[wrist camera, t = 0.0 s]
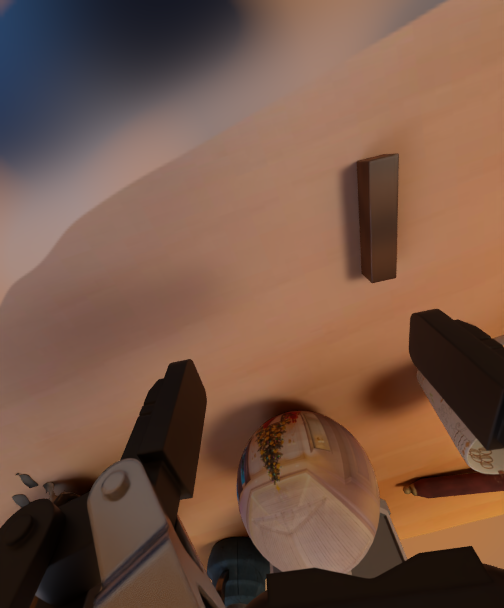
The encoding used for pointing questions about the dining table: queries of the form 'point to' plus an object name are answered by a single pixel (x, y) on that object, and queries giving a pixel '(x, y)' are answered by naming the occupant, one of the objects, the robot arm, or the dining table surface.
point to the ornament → (308, 493)
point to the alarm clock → (378, 549)
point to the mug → (464, 432)
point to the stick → (378, 215)
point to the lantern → (237, 571)
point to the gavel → (456, 485)
